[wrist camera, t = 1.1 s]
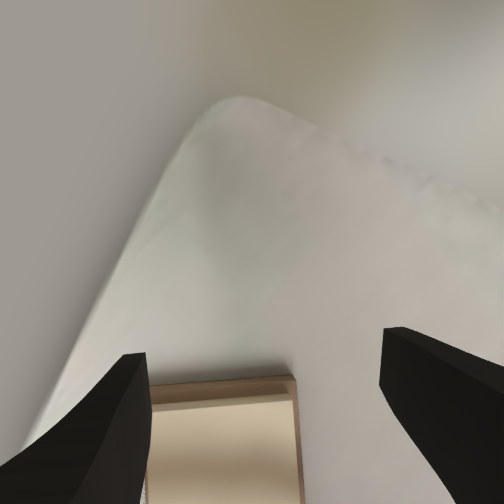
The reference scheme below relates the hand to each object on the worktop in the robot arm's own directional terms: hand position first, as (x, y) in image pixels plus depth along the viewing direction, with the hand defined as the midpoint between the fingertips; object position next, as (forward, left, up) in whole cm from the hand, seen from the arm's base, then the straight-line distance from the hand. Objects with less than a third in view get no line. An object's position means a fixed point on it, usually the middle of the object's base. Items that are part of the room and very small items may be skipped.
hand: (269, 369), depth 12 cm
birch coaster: (-8, +2, -12) cm, 14 cm away
